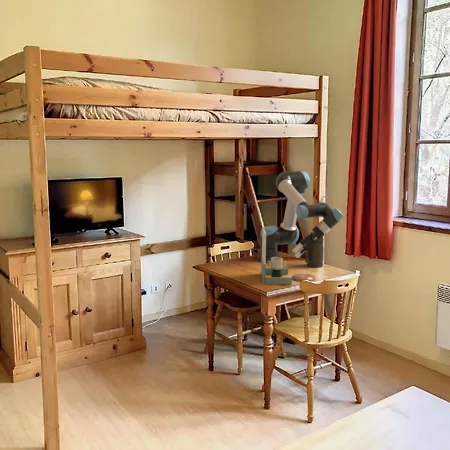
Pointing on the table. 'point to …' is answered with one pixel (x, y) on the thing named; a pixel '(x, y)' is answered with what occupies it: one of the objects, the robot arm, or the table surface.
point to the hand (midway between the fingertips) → (294, 254)
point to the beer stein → (315, 254)
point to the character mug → (277, 266)
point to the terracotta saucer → (304, 277)
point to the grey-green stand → (268, 271)
